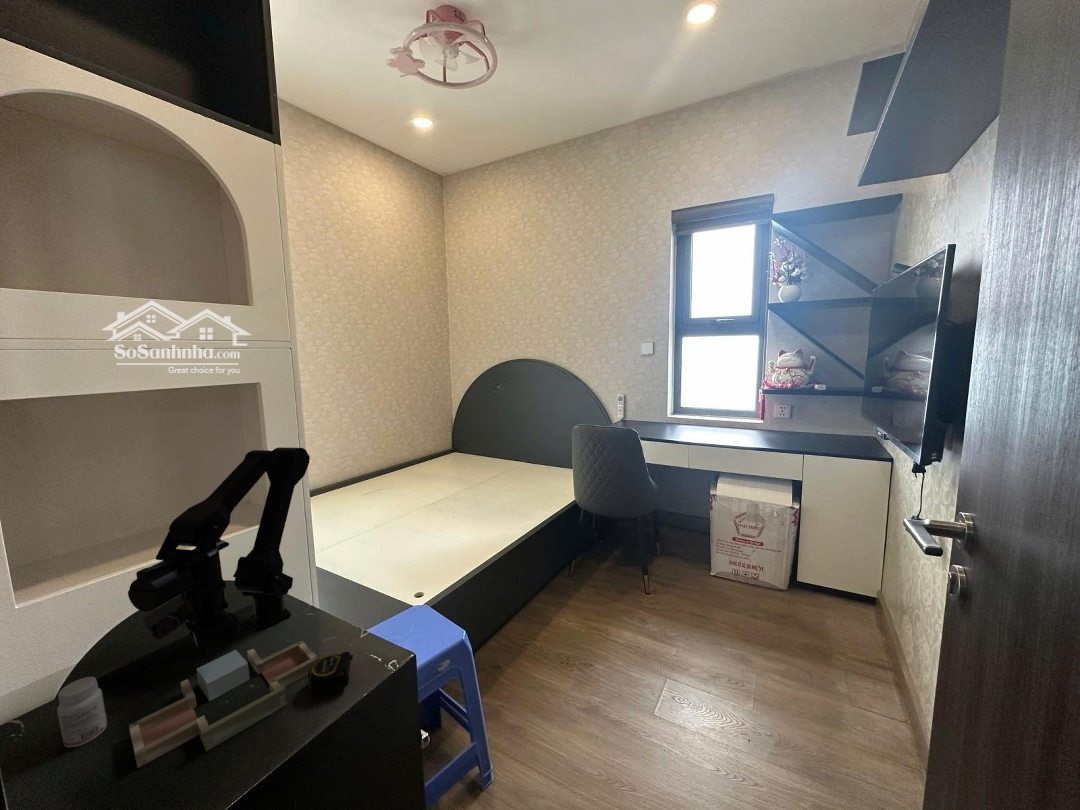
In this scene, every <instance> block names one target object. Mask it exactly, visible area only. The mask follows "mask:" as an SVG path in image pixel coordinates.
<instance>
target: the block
mask: <svg viewBox="0 0 1080 810" xmlns="http://www.w3.org/2000/svg"><path fill="white" fill-rule="evenodd" d="M248 663H249V662H248V661H247V660H246V659H245V658H244V657H243V656H242V655H241V654H240V653H239V652H238V650H237V649H234V650H232V651H231V652H228V653H226V654H224V655H222V656H220V657H218V658H216V659H214V660H212V661H210V662H207V663H206V664H204V665H202V666H200V667H197V668H196V674H197V681H198V687H199V688H200V689H201V691H202V693H203V694H204V695H205V697H206V698H207V700H208V701H209V702H212V700H215V699H217V698H218V697H221V696H222V695H224V694H225V693H228V692H230V691H231V690H233V689H235V688H236V687H238V686H240V685H242V684H245V683H246V682H248V681H250V680H251V679H250V671H249V670H250V669H249V664H248Z"/></svg>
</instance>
